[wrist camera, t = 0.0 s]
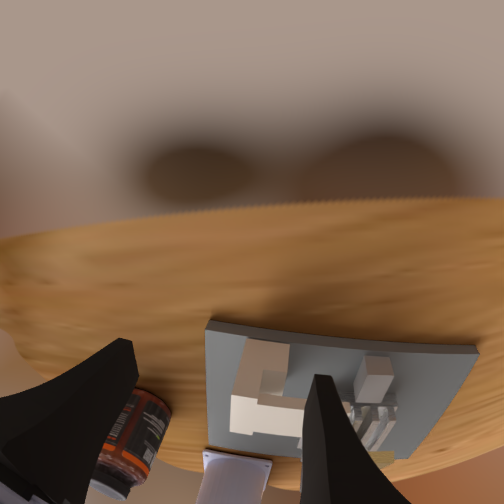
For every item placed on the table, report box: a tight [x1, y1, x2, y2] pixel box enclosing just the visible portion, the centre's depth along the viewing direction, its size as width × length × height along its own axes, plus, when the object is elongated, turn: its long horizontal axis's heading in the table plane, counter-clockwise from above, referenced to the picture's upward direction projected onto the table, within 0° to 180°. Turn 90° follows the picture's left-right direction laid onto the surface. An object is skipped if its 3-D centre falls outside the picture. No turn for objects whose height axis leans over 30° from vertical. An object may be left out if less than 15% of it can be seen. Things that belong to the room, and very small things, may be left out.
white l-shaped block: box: [230, 338, 350, 437], centre depth 19 cm, size 4×7×5 cm, turn 86°
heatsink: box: [297, 391, 398, 462], centre depth 22 cm, size 7×7×3 cm
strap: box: [367, 451, 394, 469], centre depth 19 cm, size 13×2×1 cm, turn 176°
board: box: [205, 320, 480, 492], centre depth 22 cm, size 16×22×6 cm
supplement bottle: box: [89, 389, 171, 501], centre depth 24 cm, size 6×6×11 cm
